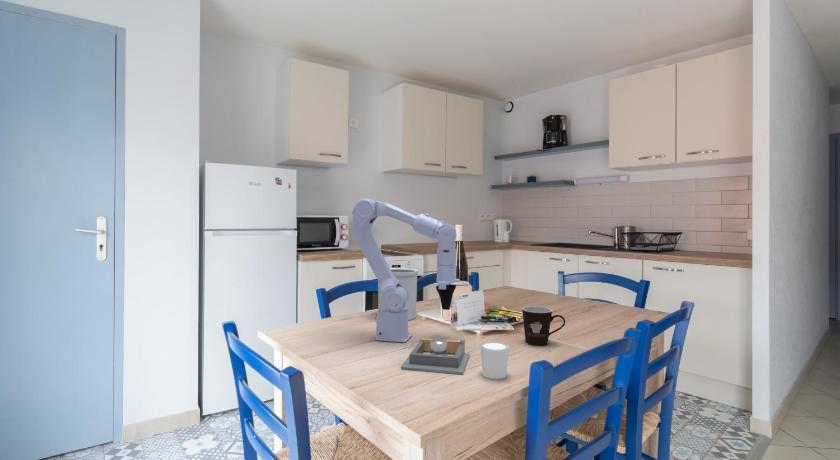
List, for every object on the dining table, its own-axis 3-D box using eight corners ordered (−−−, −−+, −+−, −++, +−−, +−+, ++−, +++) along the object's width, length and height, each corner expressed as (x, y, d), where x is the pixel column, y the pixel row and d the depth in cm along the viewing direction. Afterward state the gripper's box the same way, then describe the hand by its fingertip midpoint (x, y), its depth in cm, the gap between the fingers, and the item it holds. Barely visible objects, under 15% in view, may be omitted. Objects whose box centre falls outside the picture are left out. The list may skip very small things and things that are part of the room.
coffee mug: (516, 342, 130) (516, 309, 129) (530, 336, 136) (531, 305, 136) (552, 351, 122) (553, 316, 121) (566, 344, 128) (567, 311, 128)
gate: (464, 353, 120) (464, 340, 119) (464, 354, 118) (464, 341, 118) (421, 349, 122) (421, 337, 122) (420, 351, 121) (420, 338, 121)
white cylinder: (491, 382, 100) (491, 352, 99) (474, 372, 106) (474, 343, 106) (515, 377, 103) (515, 347, 103) (497, 367, 109) (497, 340, 109)
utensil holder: (394, 310, 171) (394, 266, 170) (425, 316, 162) (425, 269, 162) (368, 318, 159) (368, 270, 158) (401, 324, 150) (401, 273, 150)
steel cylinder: (427, 361, 113) (428, 342, 113) (433, 355, 117) (433, 337, 117) (444, 363, 112) (444, 344, 112) (448, 358, 116) (449, 339, 116)
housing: (400, 369, 108) (400, 357, 108) (414, 351, 121) (414, 340, 121) (462, 374, 104) (463, 362, 104) (469, 356, 118) (469, 345, 118)
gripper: (456, 267, 123) (455, 315, 124) (462, 262, 137) (462, 304, 138) (431, 267, 125) (431, 314, 126) (440, 261, 139) (440, 303, 140)
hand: (446, 309), depth 132 cm, fingers closed
